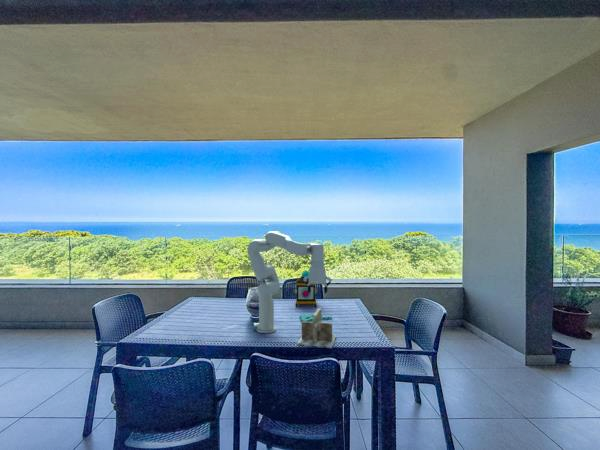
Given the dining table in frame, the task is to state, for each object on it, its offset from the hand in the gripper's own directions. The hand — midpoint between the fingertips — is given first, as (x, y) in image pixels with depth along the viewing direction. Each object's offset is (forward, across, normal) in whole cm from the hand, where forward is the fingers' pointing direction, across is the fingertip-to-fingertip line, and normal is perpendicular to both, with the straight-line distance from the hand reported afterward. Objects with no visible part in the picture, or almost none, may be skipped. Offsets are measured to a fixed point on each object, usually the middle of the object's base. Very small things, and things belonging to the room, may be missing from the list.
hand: (317, 292), depth 194 cm
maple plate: (+27, 0, -2) cm, 27 cm away
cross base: (+28, 0, -2) cm, 28 cm away
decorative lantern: (+29, -25, +80) cm, 88 cm away
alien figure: (+29, -11, +40) cm, 50 cm away
